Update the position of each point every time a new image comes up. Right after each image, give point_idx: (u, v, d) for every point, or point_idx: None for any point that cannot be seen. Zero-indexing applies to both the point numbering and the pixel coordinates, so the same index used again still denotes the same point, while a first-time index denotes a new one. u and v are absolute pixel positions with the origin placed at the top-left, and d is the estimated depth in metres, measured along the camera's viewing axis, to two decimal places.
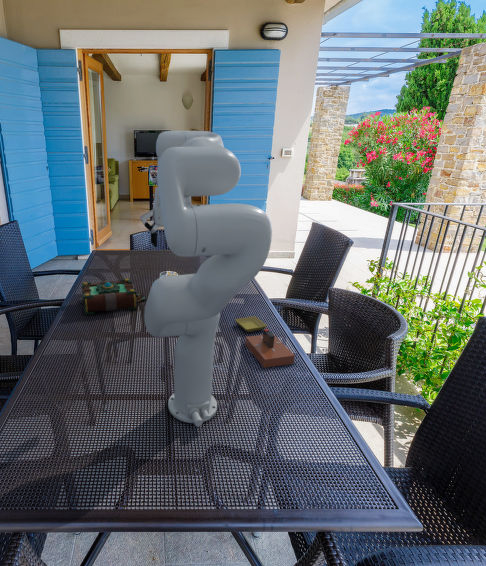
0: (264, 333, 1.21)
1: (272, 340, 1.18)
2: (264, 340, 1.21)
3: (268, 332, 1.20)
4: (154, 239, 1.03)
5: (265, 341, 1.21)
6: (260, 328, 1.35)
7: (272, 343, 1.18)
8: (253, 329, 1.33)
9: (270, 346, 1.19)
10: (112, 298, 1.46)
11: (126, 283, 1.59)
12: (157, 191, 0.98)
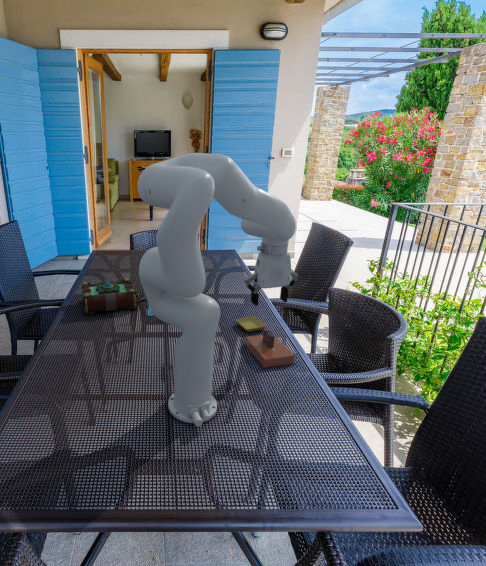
0: (264, 333, 1.21)
1: (272, 340, 1.18)
2: (264, 340, 1.21)
3: (268, 332, 1.20)
4: (255, 299, 1.13)
5: (265, 341, 1.21)
6: (260, 328, 1.35)
7: (272, 343, 1.18)
8: (253, 329, 1.33)
9: (270, 346, 1.19)
10: (112, 298, 1.46)
11: (126, 283, 1.59)
12: (262, 258, 1.08)
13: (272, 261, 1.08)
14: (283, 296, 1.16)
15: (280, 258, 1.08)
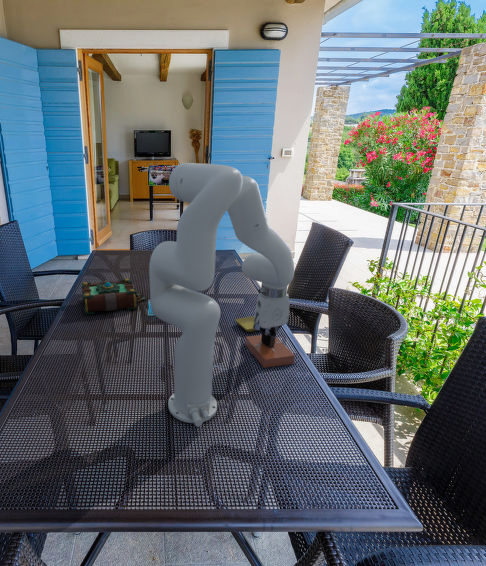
0: None
1: (273, 340, 1.18)
2: None
3: None
4: (267, 339, 1.18)
5: None
6: None
7: (273, 343, 1.18)
8: (253, 329, 1.33)
9: (271, 346, 1.19)
10: (112, 298, 1.46)
11: (126, 283, 1.59)
12: (264, 300, 1.12)
13: (273, 303, 1.12)
14: None
15: (280, 300, 1.13)
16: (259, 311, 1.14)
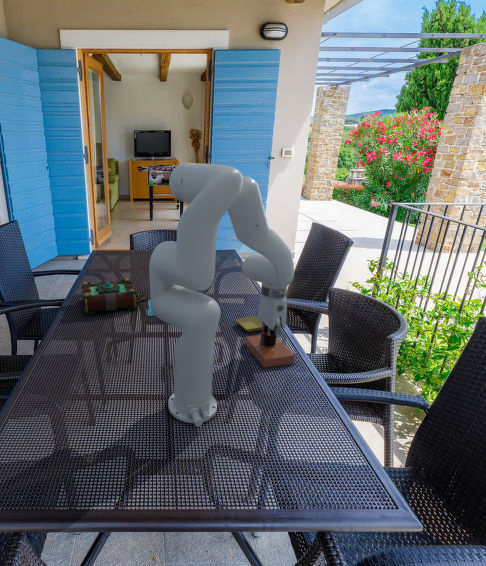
0: None
1: None
2: None
3: None
4: (274, 339, 1.19)
5: None
6: (260, 328, 1.35)
7: None
8: (253, 329, 1.33)
9: None
10: (112, 298, 1.46)
11: (126, 283, 1.59)
12: (285, 301, 1.11)
13: None
14: None
15: None
16: (282, 314, 1.12)
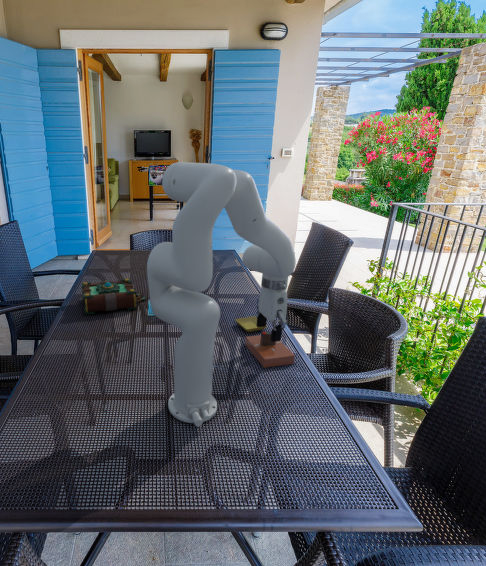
0: (266, 336, 1.19)
1: None
2: (266, 343, 1.20)
3: (268, 333, 1.19)
4: None
5: (268, 342, 1.20)
6: (260, 328, 1.35)
7: None
8: (253, 329, 1.33)
9: None
10: (112, 298, 1.46)
11: (126, 283, 1.59)
12: (286, 294, 1.10)
13: None
14: (263, 322, 1.23)
15: None
16: (282, 307, 1.11)
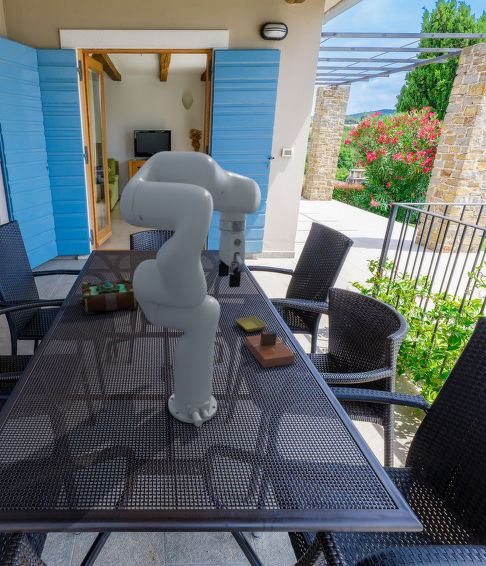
0: (266, 336, 1.19)
1: None
2: (266, 343, 1.20)
3: (268, 333, 1.19)
4: (239, 279, 1.09)
5: (268, 342, 1.20)
6: (260, 328, 1.35)
7: None
8: (253, 329, 1.33)
9: None
10: (112, 298, 1.46)
11: (126, 283, 1.59)
12: (243, 235, 1.05)
13: None
14: (225, 271, 1.18)
15: None
16: (239, 249, 1.06)
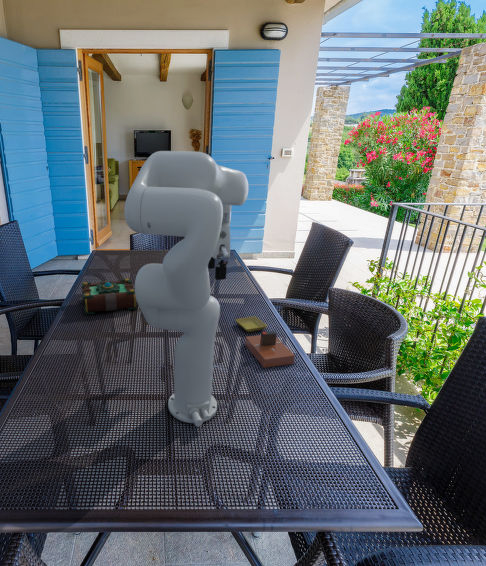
0: (266, 336, 1.19)
1: None
2: (266, 343, 1.20)
3: (268, 333, 1.19)
4: (225, 272, 1.09)
5: (268, 342, 1.20)
6: (260, 328, 1.35)
7: None
8: (253, 329, 1.33)
9: None
10: (112, 298, 1.46)
11: (126, 283, 1.59)
12: (228, 227, 1.05)
13: None
14: (211, 263, 1.18)
15: None
16: (225, 241, 1.06)
